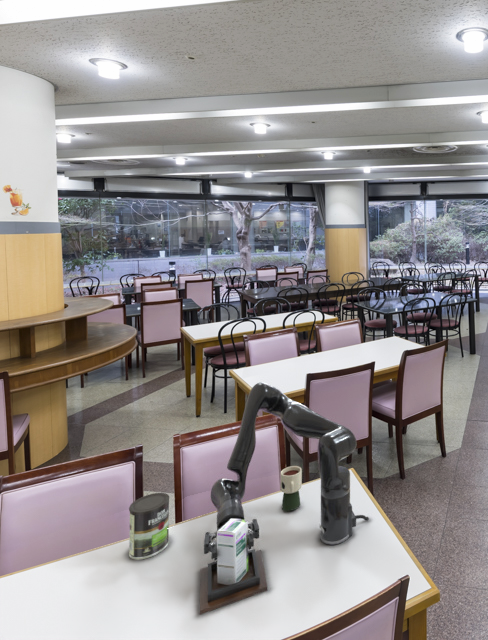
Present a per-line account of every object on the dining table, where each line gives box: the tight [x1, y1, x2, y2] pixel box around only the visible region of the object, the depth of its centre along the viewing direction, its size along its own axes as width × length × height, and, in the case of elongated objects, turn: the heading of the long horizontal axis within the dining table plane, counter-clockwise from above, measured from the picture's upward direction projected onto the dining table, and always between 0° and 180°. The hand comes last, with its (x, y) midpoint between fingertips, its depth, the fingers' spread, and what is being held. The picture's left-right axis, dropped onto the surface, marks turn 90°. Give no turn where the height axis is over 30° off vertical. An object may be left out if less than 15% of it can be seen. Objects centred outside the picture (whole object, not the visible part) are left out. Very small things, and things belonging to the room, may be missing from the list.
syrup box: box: [216, 519, 249, 585], centre depth 119 cm, size 6×6×14 cm
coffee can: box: [128, 492, 170, 561], centre depth 133 cm, size 10×10×14 cm
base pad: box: [199, 548, 268, 615], centre depth 119 cm, size 16×16×3 cm
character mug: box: [280, 465, 303, 512], centre depth 153 cm, size 11×7×13 cm, turn 22°
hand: (233, 551), depth 118 cm, fingers open, 8 cm apart
